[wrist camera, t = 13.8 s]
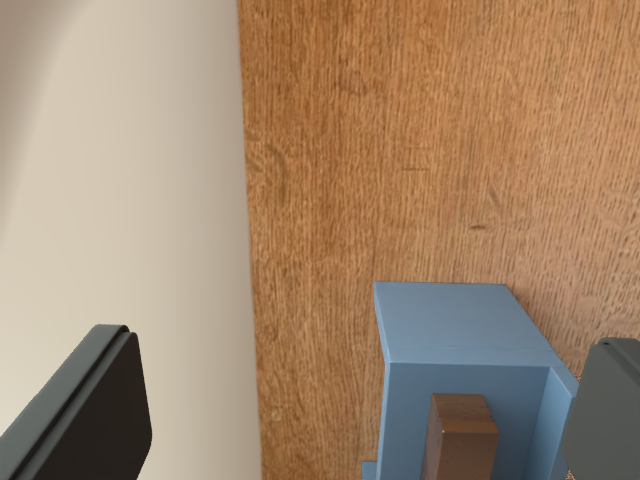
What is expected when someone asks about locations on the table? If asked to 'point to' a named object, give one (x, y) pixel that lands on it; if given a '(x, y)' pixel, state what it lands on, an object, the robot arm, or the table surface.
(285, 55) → the table surface
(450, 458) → the stick
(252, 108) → the table surface
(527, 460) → the blue stepped block
